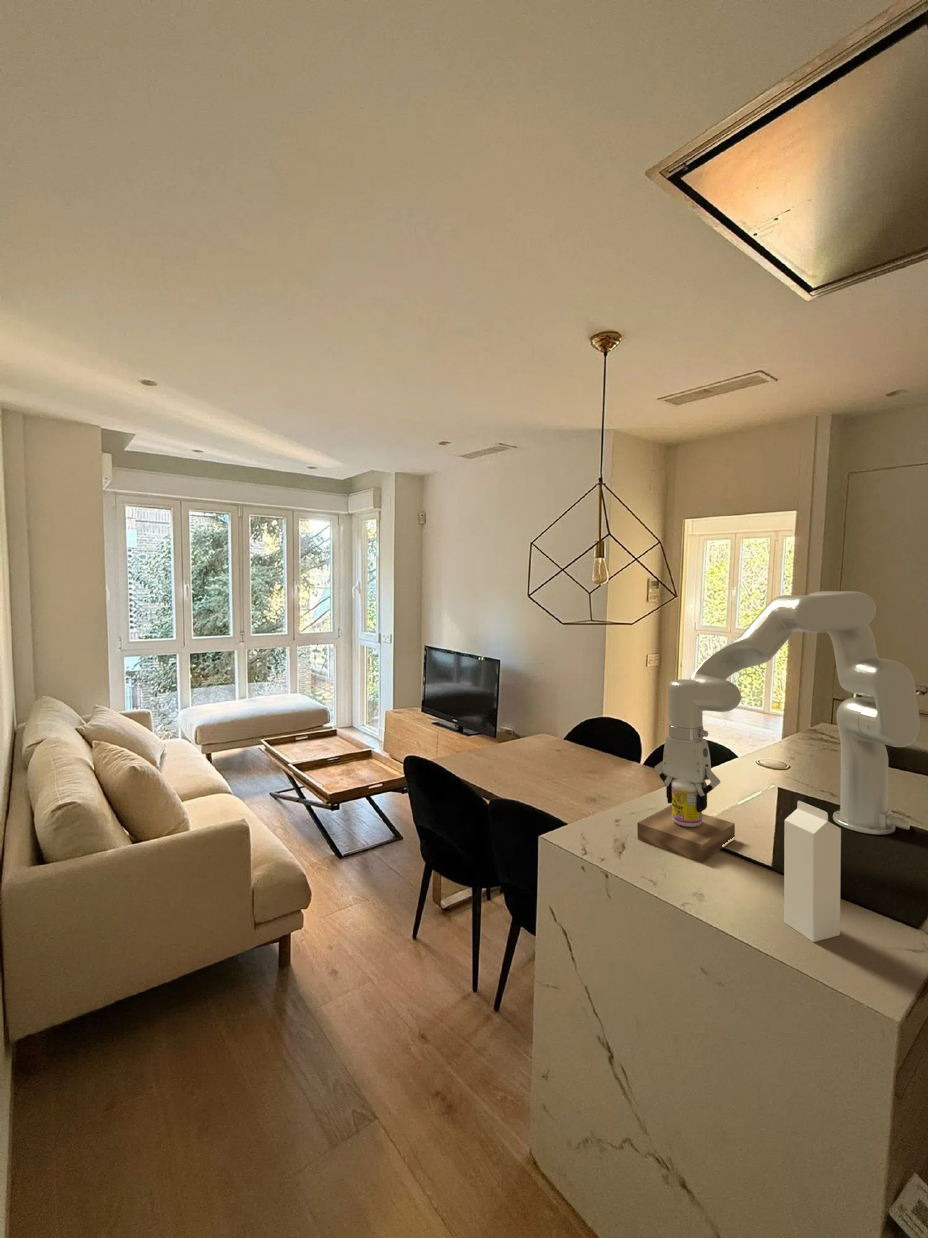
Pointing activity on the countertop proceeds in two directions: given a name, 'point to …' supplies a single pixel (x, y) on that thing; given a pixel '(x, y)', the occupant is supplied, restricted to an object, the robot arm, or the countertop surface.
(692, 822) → the supplement bottle
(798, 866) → the milk
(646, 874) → the countertop surface
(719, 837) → the plinth
